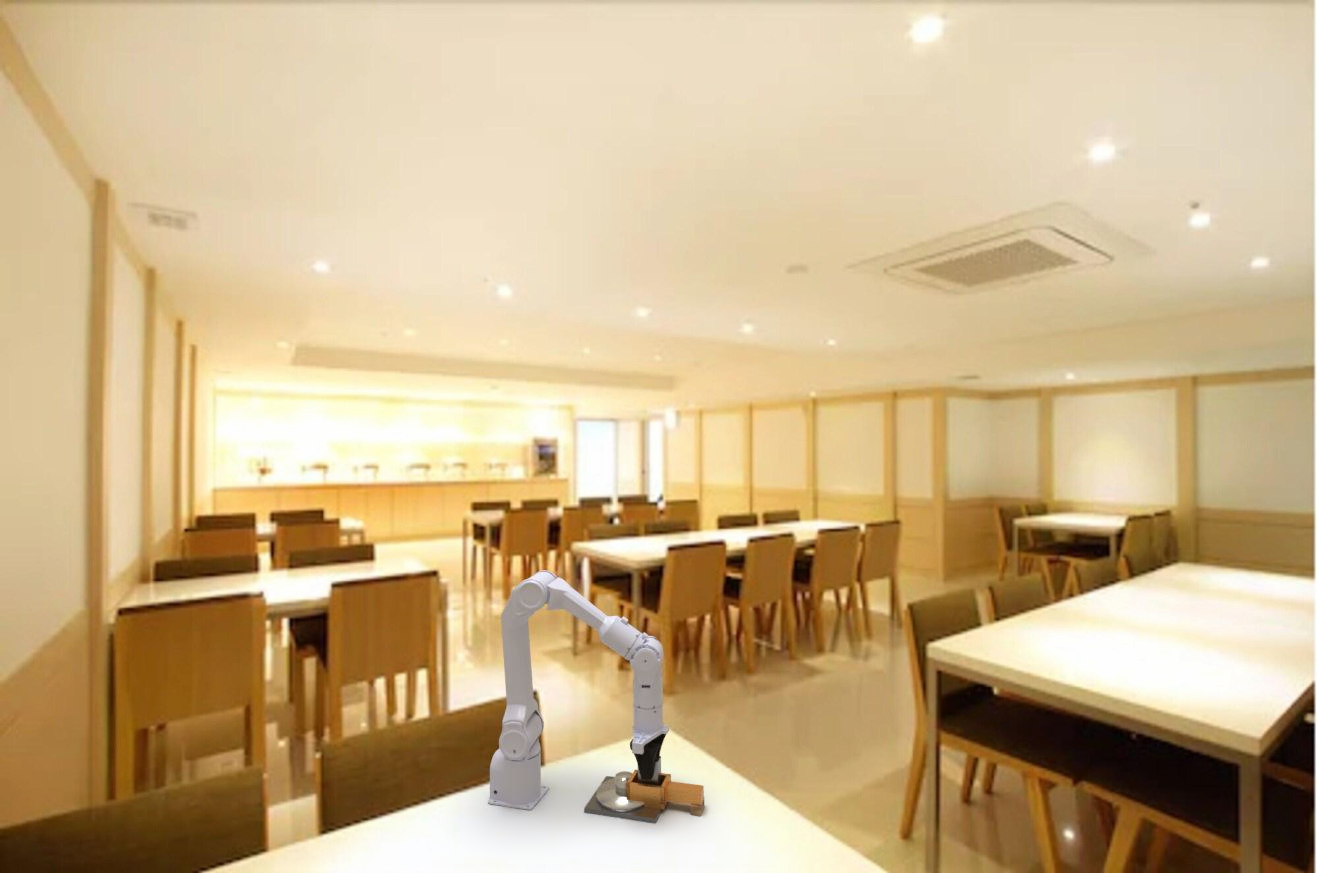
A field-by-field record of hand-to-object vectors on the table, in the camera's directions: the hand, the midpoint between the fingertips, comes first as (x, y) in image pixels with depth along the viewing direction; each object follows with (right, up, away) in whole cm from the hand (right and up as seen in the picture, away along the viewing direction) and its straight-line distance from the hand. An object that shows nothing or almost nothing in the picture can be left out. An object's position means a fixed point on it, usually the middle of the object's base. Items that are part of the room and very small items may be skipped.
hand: (648, 774), depth 119 cm
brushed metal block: (0, -4, 0) cm, 4 cm away
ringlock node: (0, -5, 0) cm, 5 cm away
